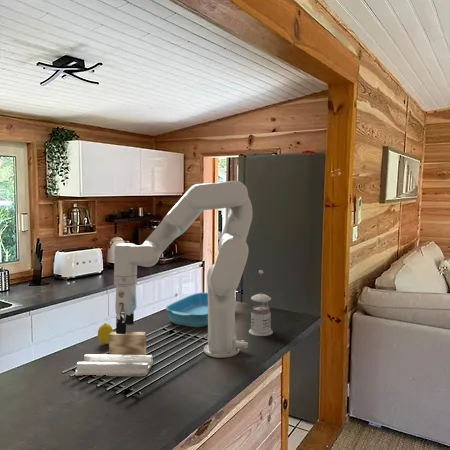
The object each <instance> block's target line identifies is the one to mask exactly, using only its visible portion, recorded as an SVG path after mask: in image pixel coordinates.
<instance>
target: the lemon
mask: <svg viewBox="0 0 450 450" xmlns="http://www.w3.org/2000/svg"><path fill="white" fill-rule="evenodd" d="M111 332H114V329H113V327H112V326H111V324H108V323H103V324H102V325H100V327H99V328H98V330H97V337H98V338H97V339H98V341H99V342H100V343H102V344H104V345H107V344H109V334H110V333H111Z"/></svg>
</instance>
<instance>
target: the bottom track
mask: <svg viewBox="0 0 450 450" xmlns="http://www.w3.org/2000/svg"><path fill="white" fill-rule="evenodd" d="M153 364H154V360H153V355H152V354H146V355H109V354H105V353H104V354H98V353H97V354H95V353H94V354H93V353H91V354H90V353H86V354H84V355H83V361H78V362H77V363H76V370H75V376H83V375H96V376H97V377H104V376H103V375H106V376H105V377H142V376H146V375H147V376H148V374H149V372H150V370H151V369H152V366H153ZM147 376H146V377H147Z"/></svg>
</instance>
